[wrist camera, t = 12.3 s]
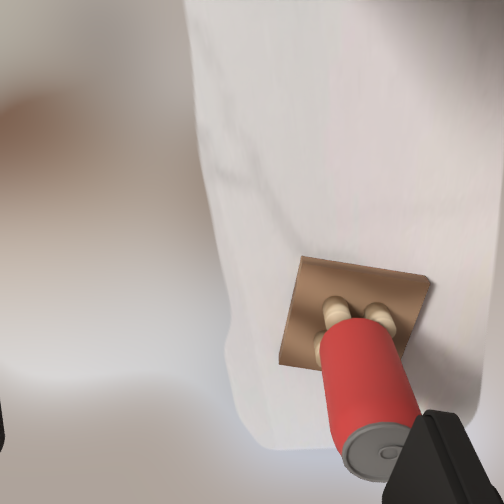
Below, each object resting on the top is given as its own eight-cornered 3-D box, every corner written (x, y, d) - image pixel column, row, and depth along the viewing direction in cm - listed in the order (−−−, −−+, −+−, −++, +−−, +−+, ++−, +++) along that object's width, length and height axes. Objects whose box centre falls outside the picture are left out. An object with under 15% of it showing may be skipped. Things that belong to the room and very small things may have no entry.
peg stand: (301, 256, 42) (304, 279, 37) (425, 275, 42) (441, 301, 38) (278, 355, 47) (279, 384, 43) (388, 372, 47) (399, 403, 43)
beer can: (391, 369, 41) (432, 486, 30) (321, 374, 42) (337, 490, 31) (390, 310, 38) (436, 416, 28) (315, 317, 39) (331, 423, 28)
